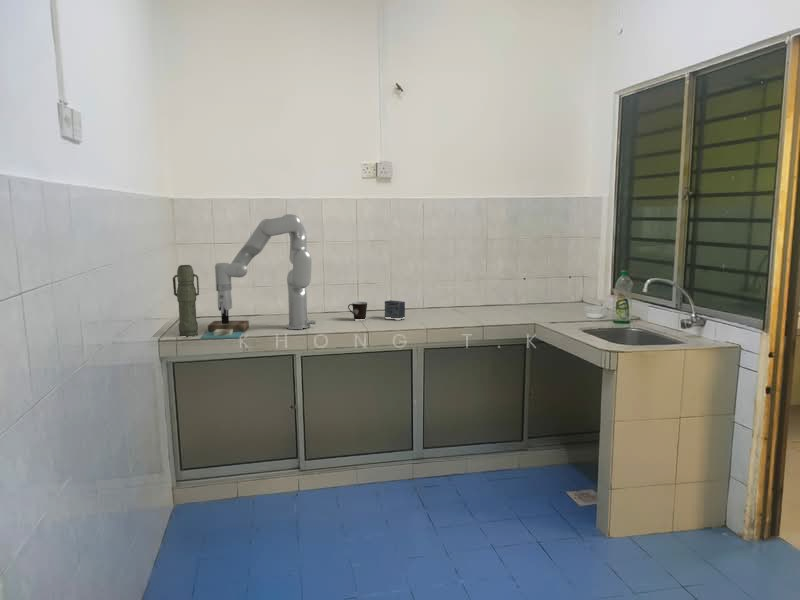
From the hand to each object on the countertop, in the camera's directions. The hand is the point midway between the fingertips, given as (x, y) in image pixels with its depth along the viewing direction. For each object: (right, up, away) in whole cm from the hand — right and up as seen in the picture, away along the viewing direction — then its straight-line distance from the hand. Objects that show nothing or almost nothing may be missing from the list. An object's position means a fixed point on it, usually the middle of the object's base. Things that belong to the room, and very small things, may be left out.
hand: (225, 323), depth 286 cm
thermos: (-17, -6, -4) cm, 19 cm away
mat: (0, -6, -5) cm, 8 cm away
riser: (0, -4, +8) cm, 9 cm away
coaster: (0, -3, -5) cm, 6 cm away
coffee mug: (+65, 0, +39) cm, 75 cm away
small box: (+86, +1, +41) cm, 95 cm away
